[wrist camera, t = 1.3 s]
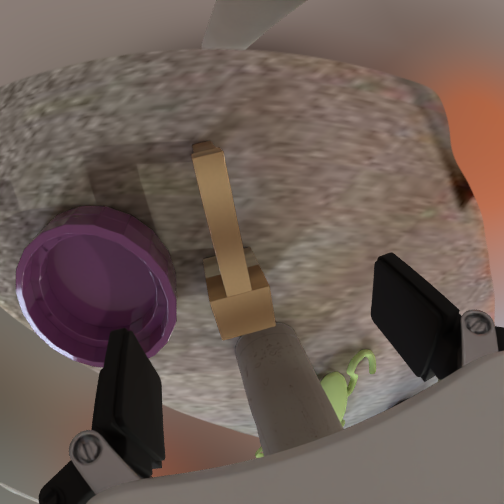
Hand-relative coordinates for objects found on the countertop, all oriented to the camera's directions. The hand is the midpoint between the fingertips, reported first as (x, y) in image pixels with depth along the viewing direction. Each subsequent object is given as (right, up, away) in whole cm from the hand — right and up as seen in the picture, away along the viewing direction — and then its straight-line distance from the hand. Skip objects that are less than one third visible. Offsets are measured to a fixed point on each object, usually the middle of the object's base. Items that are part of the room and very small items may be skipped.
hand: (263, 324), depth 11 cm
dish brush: (-3, +5, +17) cm, 18 cm away
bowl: (-16, 0, +17) cm, 23 cm away
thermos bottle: (+1, -9, +26) cm, 27 cm away
